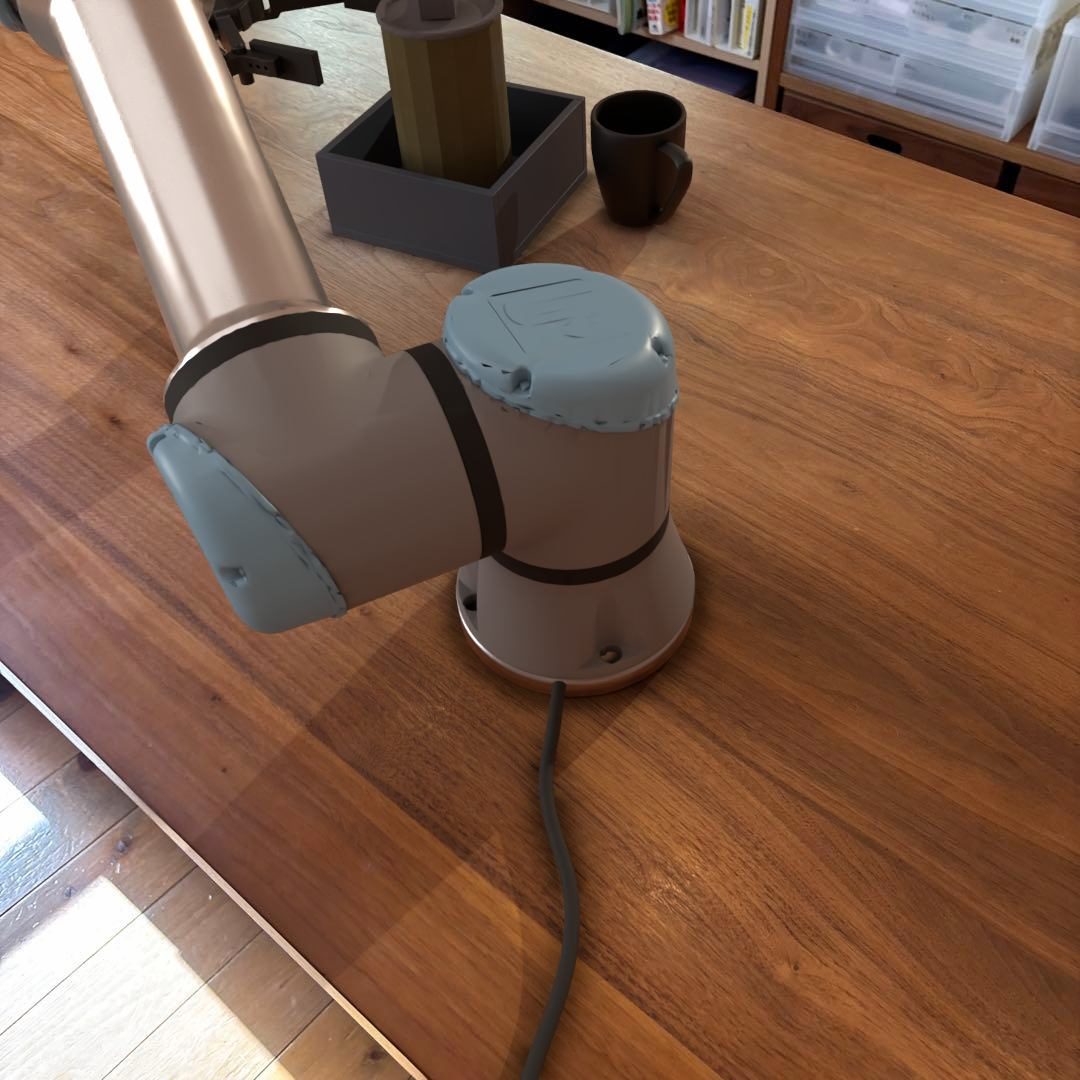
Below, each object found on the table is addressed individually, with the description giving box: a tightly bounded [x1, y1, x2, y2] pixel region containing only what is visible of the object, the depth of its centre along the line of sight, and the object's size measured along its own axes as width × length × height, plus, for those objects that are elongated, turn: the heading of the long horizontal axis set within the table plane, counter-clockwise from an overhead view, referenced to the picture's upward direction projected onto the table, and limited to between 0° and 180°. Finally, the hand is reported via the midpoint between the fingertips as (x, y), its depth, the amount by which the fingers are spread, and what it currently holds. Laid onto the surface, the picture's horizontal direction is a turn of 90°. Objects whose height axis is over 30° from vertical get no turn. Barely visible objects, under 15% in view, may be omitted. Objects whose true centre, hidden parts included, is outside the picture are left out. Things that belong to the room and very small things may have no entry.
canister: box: [375, 0, 513, 189], centre depth 96 cm, size 11×10×20 cm
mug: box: [589, 89, 694, 228], centre depth 97 cm, size 8×12×10 cm
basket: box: [314, 81, 588, 275], centre depth 101 cm, size 18×18×8 cm
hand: (363, 33), depth 96 cm, fingers open, 13 cm apart
